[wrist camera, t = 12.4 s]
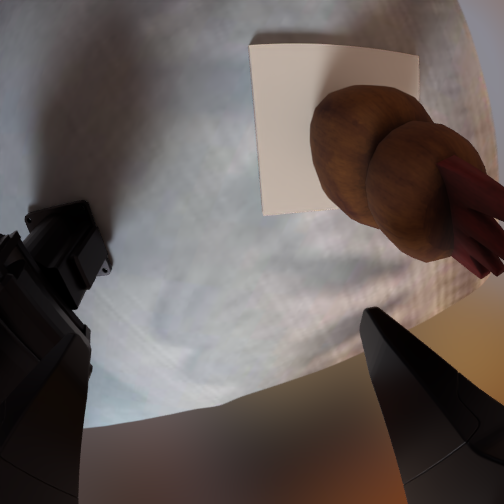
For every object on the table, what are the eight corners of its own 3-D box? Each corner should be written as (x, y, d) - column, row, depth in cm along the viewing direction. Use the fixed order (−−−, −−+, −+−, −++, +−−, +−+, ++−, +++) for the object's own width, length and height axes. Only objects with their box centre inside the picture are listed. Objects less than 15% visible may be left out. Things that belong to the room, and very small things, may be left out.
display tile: (261, 209, 21) (263, 215, 20) (248, 46, 15) (248, 45, 14) (403, 198, 21) (409, 204, 20) (411, 55, 15) (418, 56, 14)
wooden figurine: (293, 81, 15) (508, 146, 3) (382, 81, 15) (609, 165, 3) (302, 186, 19) (410, 406, 6) (382, 179, 19) (534, 346, 6)
